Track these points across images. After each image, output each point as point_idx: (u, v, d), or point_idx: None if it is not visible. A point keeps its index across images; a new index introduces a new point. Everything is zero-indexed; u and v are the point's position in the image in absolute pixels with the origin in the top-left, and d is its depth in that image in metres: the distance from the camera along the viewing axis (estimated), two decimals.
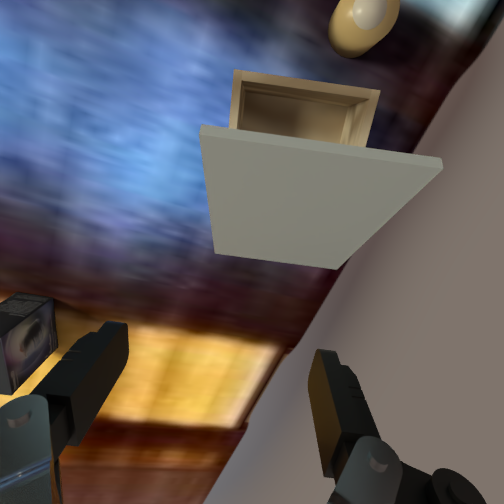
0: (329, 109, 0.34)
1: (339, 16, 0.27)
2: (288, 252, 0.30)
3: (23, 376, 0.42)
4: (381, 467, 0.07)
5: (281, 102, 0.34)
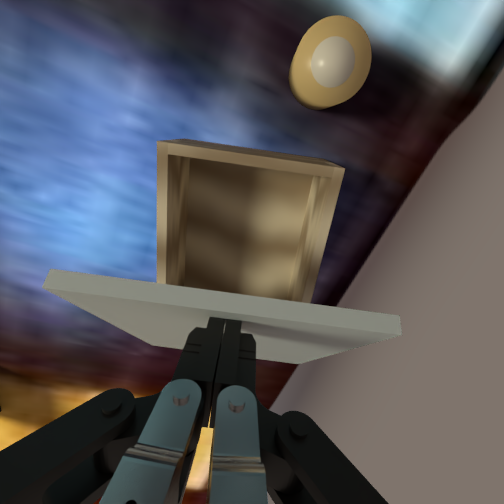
0: None
1: (295, 71, 0.21)
2: None
3: None
4: (235, 408, 0.08)
5: None
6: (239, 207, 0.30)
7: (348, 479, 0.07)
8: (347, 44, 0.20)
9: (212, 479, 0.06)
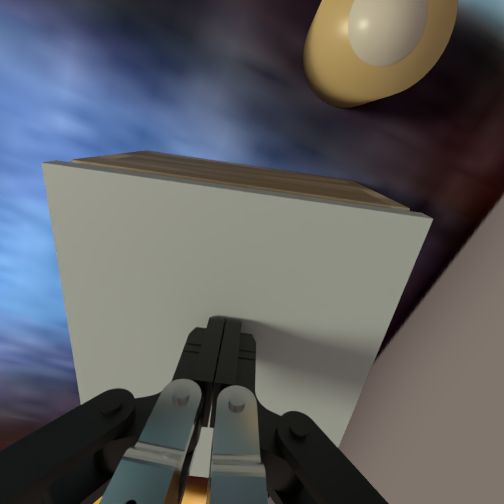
0: None
1: (319, 36, 0.12)
2: None
3: None
4: (235, 408, 0.08)
5: None
6: None
7: (348, 478, 0.07)
8: None
9: (212, 479, 0.06)
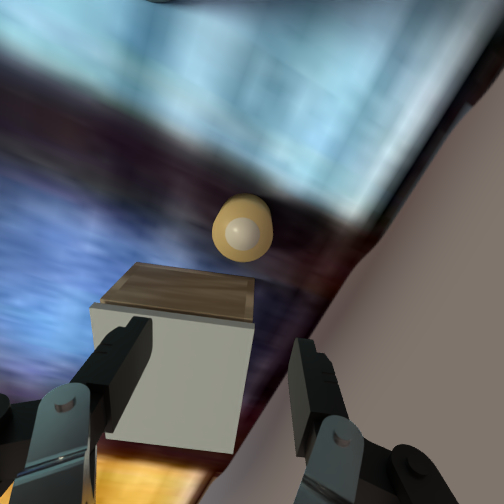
0: None
1: (213, 239, 0.26)
2: (177, 429, 0.31)
3: None
4: (344, 442, 0.08)
5: None
6: None
7: None
8: (252, 222, 0.25)
9: (298, 492, 0.06)
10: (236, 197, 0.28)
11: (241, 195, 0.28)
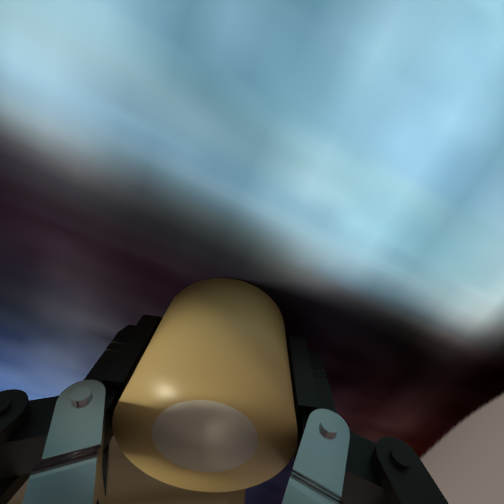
0: None
1: (119, 444, 0.09)
2: None
3: None
4: (330, 435, 0.08)
5: None
6: None
7: None
8: (233, 412, 0.08)
9: (287, 488, 0.06)
10: (196, 300, 0.11)
11: (210, 291, 0.11)
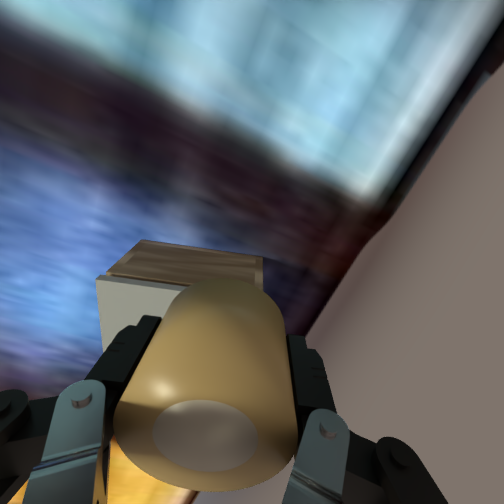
0: None
1: (119, 444, 0.09)
2: None
3: None
4: (330, 435, 0.08)
5: None
6: None
7: None
8: (234, 412, 0.08)
9: (287, 488, 0.06)
10: (196, 300, 0.11)
11: (210, 291, 0.11)
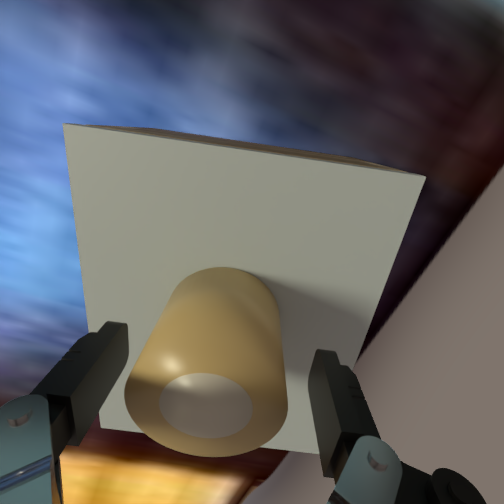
0: None
1: (129, 413, 0.10)
2: None
3: None
4: (381, 467, 0.07)
5: None
6: None
7: None
8: (231, 384, 0.09)
9: None
10: (198, 287, 0.12)
11: (211, 279, 0.12)
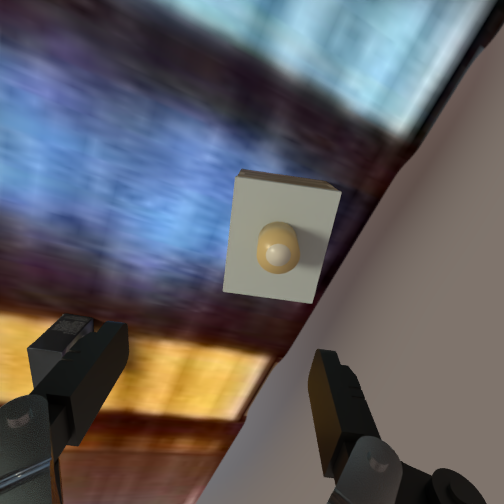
0: None
1: None
2: (276, 281, 0.43)
3: None
4: (381, 467, 0.07)
5: None
6: None
7: None
8: (286, 247, 0.36)
9: None
10: (274, 225, 0.38)
11: (278, 224, 0.38)
